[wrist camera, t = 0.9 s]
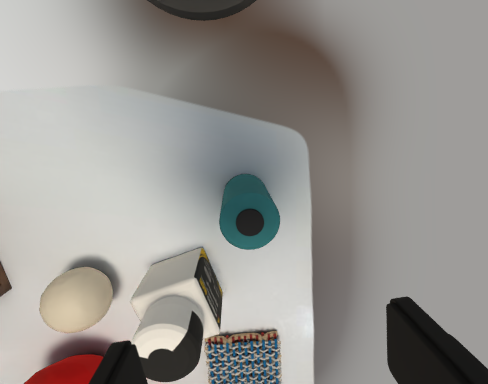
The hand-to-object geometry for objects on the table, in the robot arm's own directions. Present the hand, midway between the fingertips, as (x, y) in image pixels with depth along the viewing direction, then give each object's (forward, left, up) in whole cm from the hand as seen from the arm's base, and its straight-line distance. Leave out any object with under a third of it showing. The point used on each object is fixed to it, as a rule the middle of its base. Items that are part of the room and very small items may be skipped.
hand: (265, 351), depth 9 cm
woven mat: (+24, -4, -22) cm, 33 cm away
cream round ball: (+8, -21, -22) cm, 31 cm away
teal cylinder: (0, 0, -22) cm, 22 cm away
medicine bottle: (+10, -9, -22) cm, 26 cm away
